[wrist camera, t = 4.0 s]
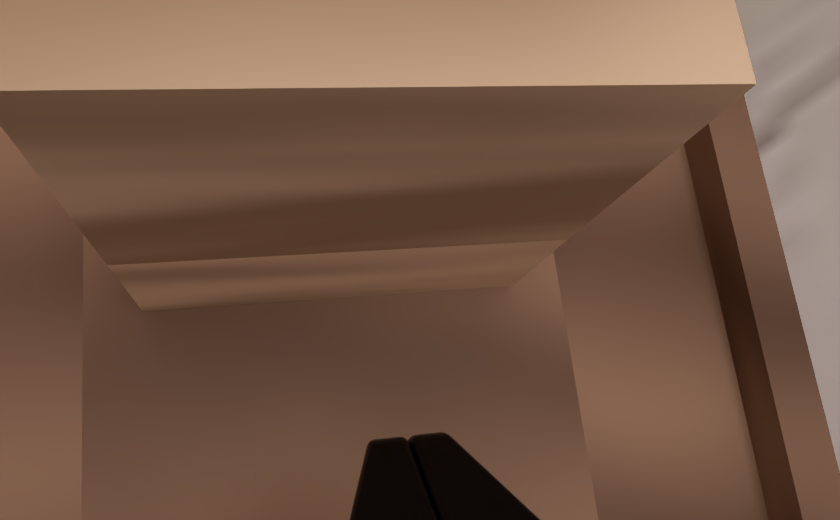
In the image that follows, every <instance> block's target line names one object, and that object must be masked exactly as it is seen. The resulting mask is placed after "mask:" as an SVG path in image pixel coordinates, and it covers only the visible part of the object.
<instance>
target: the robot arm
mask: <svg viewBox="0 0 840 520" xmlns="http://www.w3.org/2000/svg"><path fill="white" fill-rule="evenodd" d="M350 520H540V519H539V518H538V517H537V516H536V515H535V514H534V513H533V512H532V511H530V510H529V509H528V508H527V507H526V506H525V505H524V504H523V503H522V502H521V501H520V500H519V499H518V498H517V497H515V496H514V495H513V494H512V493H511V492H510V491H509V490H508V489H507V488H506V487H505V486H504V485H503V484H502V483H501V482H499V481H498V480H497V479H496V478H495V477H494V476H493V475H492V474H491V473H490V472H489V471H488V470H487V469H486V468H484V467H483V466H482V465H481V464H480V463H479V462H478V461H477V460H476V459H475V458H474V457H473V456H472V455H471V454H469V453H468V452H467V451H466V450H465V449H464V448H463V447H462V446H461V445H460V444H459V443H458V442H457V441H456V440H454V439H453V438H452V437H451V436H450V435H449V434H447V433H444V432H437V433H428V434H419V435H413V436H411V437H410V438H409V439H408V440H407V439H406V438H404V437H392V438H383V439H374V440H371V441H370V442H369V443H368V445H367V448H366V452H365V456H364V460H363V465H362V469H361V473H360V477H359V482H358V486H357V490H356V494H355V498H354V503H353V507H352V511H351V515H350Z"/></svg>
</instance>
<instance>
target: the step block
mask: <svg viewBox="0 0 840 520" xmlns="http://www.w3.org/2000/svg"><path fill="white" fill-rule="evenodd" d="M754 85H756V80H755V76H754V73H753V69H752V65H751V61H750V57H749V53H748V50H747V46H746V42H745V38H744V34H743V30H742V26H741V23H740V19H739V15H738V11H737V7H736V3H735V0H0V126H1V127H2V129H3V130H4V131H5V132H6V134H7V135H8V136H9V138H10V139H11V140H12V142H13V143H14V144H15V146H16V147H17V148H18V149H19V151H20V152H21V153H22V155H23V156H24V157H25V159H26V160H27V161H28V163H29V164H30V165H31V166H32V168H33V169H34V170H35V172H36V173H37V174H38V176H39V177H40V178H41V179H42V181H43V182H44V183H45V185H46V186H47V187H48V189H49V190H50V191H51V193H52V194H53V195H54V196H55V198H56V199H57V200H58V202H59V203H60V204H61V206H62V207H63V208H64V210H65V211H66V212H67V213H68V215H69V216H70V217H71V219H72V220H73V221H74V223H75V224H76V225H77V226H78V228H79V229H80V230H81V232H82V233H83V234H84V236H85V237H86V238H87V240H88V241H89V242H90V243H91V245H92V246H93V247H94V249H95V250H96V251H97V253H98V254H99V255H100V257H101V258H102V259H103V260H104V262H105V263H106V264H107V266H108V267H109V268H110V270H111V271H112V272H113V274H114V275H115V276H116V277H117V279H118V280H119V281H120V283H121V284H122V285H123V287H124V288H125V289H126V290H127V292H128V293H129V294H130V296H131V297H132V298H133V300H134V301H135V302H136V304H137V305H138V306H139V307H140V309H141V310H142V311H152V310H166V309H181V308H196V307H210V306H225V305H239V304H254V303H269V302H283V301H298V300H313V299H327V298H342V297H357V296H371V295H386V294H400V293H415V292H430V291H444V290H459V289H474V288H488V287H503V286H512V285H513V284H515V283H516V282H517V281H518V280H519V279H521V278H522V277H523V276H524V275H526V274H527V273H528V272H529V271H530V270H532V269H533V268H534V267H535V266H536V265H538V264H539V263H540V262H541V261H542V260H544V259H545V258H546V257H547V256H549V255H550V254H551V253H552V252H553V251H555V250H556V249H557V248H558V247H559V246H561V245H562V244H563V243H564V242H565V241H567V240H568V239H569V238H570V237H572V236H573V235H574V234H575V233H576V232H578V231H579V230H580V229H581V228H582V227H584V226H585V225H586V224H587V223H589V222H590V221H591V220H592V219H593V218H595V217H596V216H597V215H598V214H599V213H601V212H602V211H603V210H604V209H605V208H607V207H608V206H609V205H610V204H612V203H613V202H614V201H615V200H616V199H618V198H619V197H620V196H621V195H622V194H624V193H625V192H626V191H627V190H628V189H630V188H631V187H632V186H633V185H635V184H636V183H637V182H638V181H639V180H641V179H642V178H643V177H644V176H645V175H647V174H648V173H649V172H650V171H651V170H653V169H654V168H655V167H656V166H658V165H659V164H660V163H661V162H662V161H664V160H665V159H666V158H667V157H668V156H670V155H671V154H672V153H673V152H675V151H676V150H677V149H678V148H679V147H681V146H682V145H683V144H684V143H685V142H687V141H688V140H689V139H690V138H691V137H693V136H694V135H695V134H696V133H698V132H699V131H700V130H701V129H702V128H704V127H705V126H706V125H707V124H708V123H710V122H711V121H712V120H713V119H714V118H716V117H717V116H718V115H719V114H721V113H722V112H723V111H724V110H725V109H727V108H728V107H729V106H730V105H731V104H733V103H734V102H735V101H736V100H737V99H739V98H740V97H741V96H742V95H744V94H745V93H746V92H747V91H748V90H750V89H751V88H752V87H753V86H754Z"/></svg>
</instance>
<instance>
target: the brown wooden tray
mask: <svg viewBox="0 0 840 520" xmlns="http://www.w3.org/2000/svg"><path fill="white" fill-rule="evenodd" d="M437 432H444V433H447V434H449V435H450V436H451V437H452V438H453V439H454V440H456V441H457V442H458V443H459V444H460V445H461V446H462V447H463V448H464V449H465V450H466V451H467V452H468V453H469V454H471V455H472V456H473V457H474V458H475V459H476V460H477V461H478V462H479V463H480V464H481V465H482V466H483V467H484V468H486V469H487V470H488V471H489V472H490V473H491V474H492V475H493V476H494V477H495V478H496V479H497V480H498V481H499V482H501V483H502V484H503V485H504V486H505V487H506V488H507V489H508V490H509V491H510V492H511V493H512V494H513V495H514V496H515V497H517V498H518V499H519V500H520V501H521V502H522V503H523V504H524V505H525V506H526V507H527V508H528V509H529V510H530V511H532V512H533V513H534V514H535V515H536V516H537V517H538V518H539V519H540V520H840V473H839V469H838V465H837V461H836V457H835V453H834V449H833V445H832V441H831V437H830V433H829V429H828V425H827V421H826V417H825V413H824V409H823V406H822V402H821V398H820V394H819V390H818V386H817V382H816V378H815V374H814V370H813V366H812V362H811V358H810V354H809V350H808V346H807V342H806V339H805V335H804V331H803V327H802V323H801V319H800V315H799V311H798V307H797V303H796V299H795V295H794V291H793V287H792V283H791V279H790V276H789V272H788V268H787V264H786V260H785V256H784V252H783V248H782V244H781V240H780V236H779V232H778V228H777V224H776V220H775V216H774V212H773V209H772V205H771V201H770V197H769V193H768V189H767V185H766V181H765V177H764V173H763V169H762V165H761V161H760V157H759V153H758V149H757V145H756V142H755V138H754V134H753V130H752V126H751V122H750V118H749V114H748V110H747V106H746V102H745V98H744V95H742V96H741V97H740V98H739V99H737V100H736V101H735V102H734V103H733V104H731V105H730V106H729V107H728V108H727V109H725V110H724V111H723V112H722V113H721V114H719V115H718V116H717V117H716V118H714V119H713V120H712V121H711V122H710V123H708V124H707V125H706V126H705V127H704V128H702V129H701V130H700V131H699V132H698V133H696V134H695V135H694V136H693V137H691V138H690V139H689V140H688V141H687V142H685V143H684V144H683V145H682V146H681V147H679V148H678V149H677V150H676V151H675V152H673V153H672V154H671V155H670V156H668V157H667V158H666V159H665V160H664V161H662V162H661V163H660V164H659V165H658V166H656V167H655V168H654V169H653V170H651V171H650V172H649V173H648V174H647V175H645V176H644V177H643V178H642V179H641V180H639V181H638V182H637V183H636V184H635V185H633V186H632V187H631V188H630V189H628V190H627V191H626V192H625V193H624V194H622V195H621V196H620V197H619V198H618V199H616V200H615V201H614V202H613V203H612V204H610V205H609V206H608V207H607V208H605V209H604V210H603V211H602V212H601V213H599V214H598V215H597V216H596V217H595V218H593V219H592V220H591V221H590V222H589V223H587V224H586V225H585V226H584V227H582V228H581V229H580V230H579V231H578V232H576V233H575V234H574V235H573V236H572V237H570V238H569V239H568V240H567V241H565V242H564V243H563V244H562V245H561V246H559V247H558V248H557V249H556V250H555V251H553V252H552V253H551V254H550V255H549V256H547V257H546V258H545V259H544V260H542V261H541V262H540V263H539V264H538V265H536V266H535V267H534V268H533V269H532V270H530V271H529V272H528V273H527V274H526V275H524V276H523V277H522V278H521V279H519V280H518V281H517V282H516V283H515V284H513V285H512V286H503V287H488V288H474V289H459V290H444V291H430V292H415V293H400V294H386V295H371V296H357V297H342V298H327V299H313V300H298V301H283V302H269V303H254V304H239V305H225V306H210V307H196V308H181V309H166V310H152V311H142V310H141V309H140V307H139V306H138V305H137V304H136V302H135V301H134V300H133V298H132V297H131V296H130V294H129V293H128V292H127V290H126V289H125V288H124V287H123V285H122V284H121V283H120V281H119V280H118V279H117V277H116V276H115V275H114V274H113V272H112V271H111V270H110V268H109V267H108V266H107V264H106V263H105V262H104V260H103V259H102V258H101V257H100V255H99V254H98V253H97V251H96V250H95V249H94V247H93V246H92V245H91V243H90V242H89V241H88V240H87V238H86V237H85V236H84V234H83V233H82V232H81V230H80V229H79V228H78V226H77V225H76V224H75V223H74V221H73V220H72V219H71V217H70V216H69V215H68V213H67V212H66V211H65V210H64V208H63V207H62V206H61V204H60V203H59V202H58V200H57V199H56V198H55V196H54V195H53V194H52V193H51V191H50V190H49V189H48V187H47V186H46V185H45V183H44V182H43V181H42V179H41V178H40V177H39V176H38V174H37V173H36V172H35V170H34V169H33V168H32V166H31V165H30V164H29V163H28V161H27V160H26V159H25V157H24V156H23V155H22V153H21V152H20V151H19V149H18V148H17V147H16V146H15V144H14V143H13V142H12V140H11V139H10V138H9V136H8V135H7V134H6V132H5V131H4V130H3V129H2V127H1V126H0V520H350V515H351V511H352V507H353V503H354V498H355V494H356V490H357V486H358V482H359V477H360V473H361V469H362V465H363V460H364V456H365V452H366V448H367V445H368V443H369V442H370V441H371V440H374V439H383V438H392V437H404V438H406V439H407V440H408V439H409V438H410V437H411V436H413V435H419V434H428V433H437Z"/></svg>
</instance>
